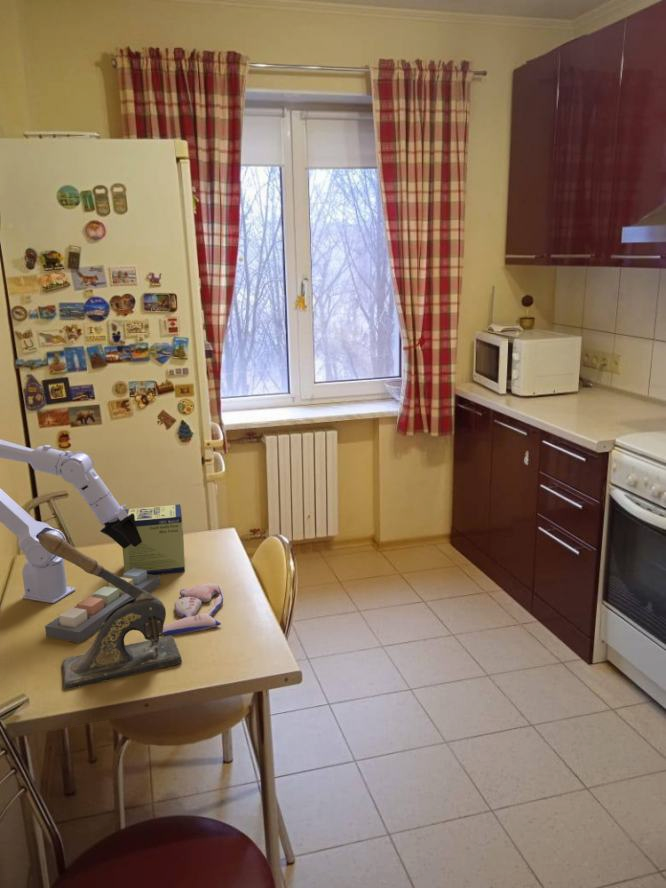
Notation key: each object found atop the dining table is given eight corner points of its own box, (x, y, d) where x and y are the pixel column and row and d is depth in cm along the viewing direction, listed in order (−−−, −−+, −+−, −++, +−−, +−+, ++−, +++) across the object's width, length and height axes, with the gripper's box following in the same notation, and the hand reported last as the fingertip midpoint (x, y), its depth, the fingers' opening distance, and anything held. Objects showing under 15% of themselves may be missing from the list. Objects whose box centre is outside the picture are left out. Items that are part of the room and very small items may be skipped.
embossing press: (183, 667, 138) (171, 524, 131) (55, 692, 131) (35, 541, 124) (176, 641, 148) (165, 506, 141) (57, 663, 141) (39, 522, 134)
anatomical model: (162, 640, 150) (232, 628, 154) (161, 628, 149) (231, 616, 153) (156, 599, 169) (218, 589, 173) (155, 588, 168) (218, 579, 172)
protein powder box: (186, 572, 183) (181, 515, 179) (124, 579, 179) (118, 521, 176) (185, 557, 193) (180, 503, 189) (126, 563, 189) (121, 509, 186)
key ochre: (109, 595, 167) (108, 583, 166) (120, 588, 170) (119, 576, 170) (123, 597, 165) (122, 585, 165) (134, 590, 169) (132, 578, 168)
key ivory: (60, 628, 151) (59, 615, 151) (73, 619, 155) (71, 607, 154) (75, 630, 150) (74, 618, 149) (88, 622, 154) (86, 609, 153)
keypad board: (46, 636, 151) (44, 626, 150) (130, 580, 178) (129, 571, 178) (80, 643, 148) (79, 632, 147) (160, 584, 175) (159, 575, 175)
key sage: (94, 605, 162) (93, 593, 161) (105, 598, 165) (104, 586, 165) (108, 607, 160) (107, 595, 160) (119, 600, 164) (118, 588, 163)
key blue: (124, 585, 172) (123, 574, 171) (134, 579, 175) (132, 567, 175) (137, 587, 170) (136, 576, 170) (147, 581, 174) (146, 569, 173)
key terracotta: (78, 616, 157) (76, 604, 156) (89, 608, 160) (88, 596, 159) (92, 619, 155) (91, 606, 154) (104, 611, 159) (103, 598, 158)
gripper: (123, 485, 161) (156, 533, 164) (104, 493, 173) (136, 537, 175) (97, 503, 157) (132, 551, 160) (80, 509, 169) (113, 554, 171)
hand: (133, 545), depth 167 cm, fingers open, 7 cm apart
